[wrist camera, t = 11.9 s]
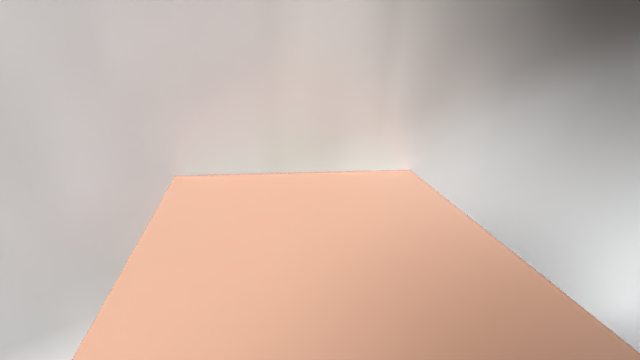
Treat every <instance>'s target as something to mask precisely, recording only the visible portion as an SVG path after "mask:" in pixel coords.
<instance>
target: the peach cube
mask: <svg viewBox="0 0 640 360" xmlns="http://www.w3.org/2000/svg"><path fill="white" fill-rule="evenodd" d="M72 360H640V353H639V352H637V351H636V350H635V349H634V348H632V347H631V346H630V345H629V344H627V343H626V342H625V341H624V340H622V339H621V338H620V337H619V336H617V335H616V334H615V333H614V332H612V331H611V330H610V329H609V328H607V327H606V326H605V325H604V324H602V323H601V322H600V321H599V320H597V319H596V318H595V317H594V316H592V315H591V314H590V313H589V312H587V311H586V310H585V309H584V308H582V307H581V306H580V305H579V304H577V303H576V302H575V301H574V300H572V299H571V298H570V297H569V296H567V295H566V294H565V293H564V292H562V291H561V290H560V289H559V288H557V287H556V286H555V285H554V284H552V283H551V282H550V281H549V280H547V279H546V278H545V277H543V276H542V275H541V274H540V273H538V272H537V271H536V270H535V269H533V268H532V267H531V266H530V265H528V264H527V263H526V262H525V261H523V260H522V259H521V258H520V257H518V256H517V255H516V254H515V253H513V252H512V251H511V250H510V249H508V248H507V247H506V246H505V245H503V244H502V243H501V242H500V241H498V240H497V239H496V238H495V237H493V236H492V235H491V234H490V233H488V232H487V231H486V230H485V229H483V228H482V227H481V226H480V225H478V224H477V223H476V222H475V221H473V220H472V219H471V218H470V217H468V216H467V215H466V214H465V213H463V212H462V211H461V210H460V209H458V208H457V207H456V206H455V205H453V204H452V203H451V202H450V201H448V200H447V199H446V198H445V197H443V196H442V195H441V194H440V193H438V192H437V191H436V190H435V189H433V188H432V187H431V186H430V185H428V184H427V183H426V182H425V181H423V180H422V179H421V178H420V177H418V176H417V175H416V174H415V173H413V172H412V171H411V170H393V171H354V172H315V173H276V174H237V175H198V176H175V177H174V179H173V181H172V182H171V184H170V186H169V188H168V190H167V191H166V193H165V195H164V197H163V199H162V200H161V202H160V204H159V206H158V207H157V209H156V211H155V213H154V215H153V216H152V218H151V220H150V222H149V223H148V225H147V227H146V229H145V231H144V232H143V234H142V236H141V238H140V239H139V241H138V243H137V245H136V247H135V248H134V250H133V252H132V254H131V256H130V257H129V259H128V261H127V263H126V264H125V266H124V268H123V270H122V272H121V273H120V275H119V277H118V279H117V280H116V282H115V284H114V286H113V288H112V289H111V291H110V293H109V295H108V297H107V298H106V300H105V302H104V304H103V305H102V307H101V309H100V311H99V313H98V314H97V316H96V318H95V320H94V321H93V323H92V325H91V327H90V329H89V330H88V332H87V334H86V336H85V337H84V339H83V341H82V343H81V345H80V346H79V348H78V350H77V352H76V354H75V355H74V357H73V359H72Z"/></svg>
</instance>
